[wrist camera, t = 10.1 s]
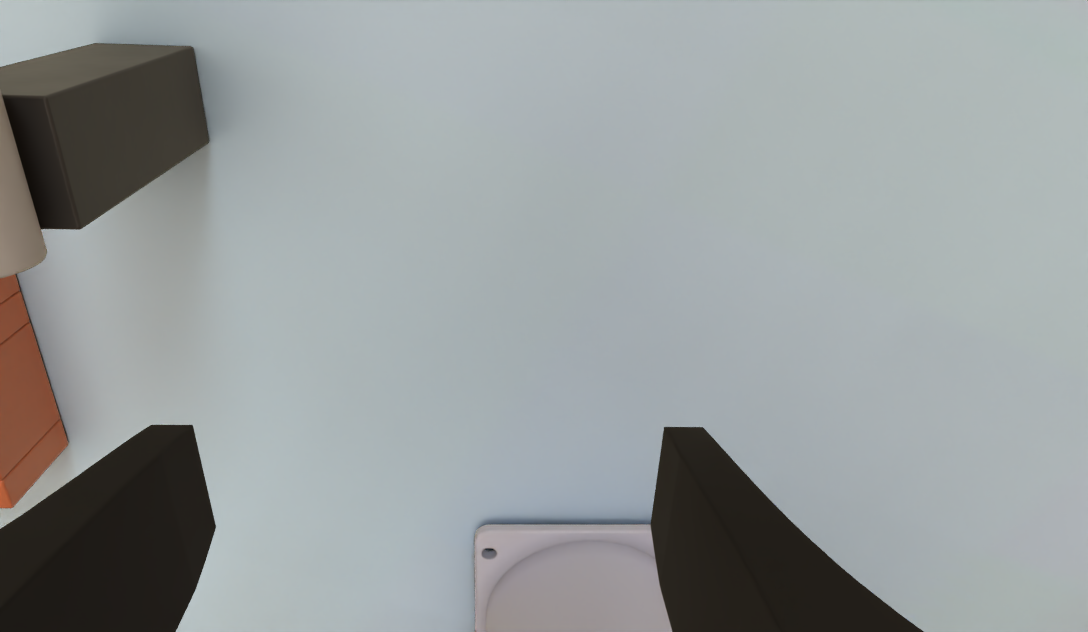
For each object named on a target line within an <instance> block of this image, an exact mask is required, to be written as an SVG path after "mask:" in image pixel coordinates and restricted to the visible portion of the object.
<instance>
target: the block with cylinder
mask: <svg viewBox="0 0 1088 632" xmlns="http://www.w3.org/2000/svg"><path fill="white" fill-rule="evenodd" d="M208 143H209V138H208V132H207V126H206V120H205V114H204V108H203V103H202V97H201V91H200V85H199V79H198V73H197V67H196V61H195V55H194V50H193V47H191V46H165V45H134V44H104V43H94V44H90V45H86V46H82V47H78V48H74V49H70V50H66V51H62V52H58V53H54V54H50V55H46V56H42V57H38V58H34V59H30V60H26V61H22V62H18V63H14V64H10V65H6V66H2V67H0V278H4V277H8V276H11V275H15V274H18V273H20V272H23V271H26V270H28V269H30V268H32V267H34V266H36V265H38V264H39V263H40V262H42V261H43V260H44V259H45V257H46V254H47V249H46V246H45V243H44V239H43V236H42V232H41V229H82V228H83V227H85V226H86V225H88V224H89V223H91V222H92V221H94V220H95V219H97V218H98V217H100V216H101V215H103V214H104V213H105V212H107V211H108V210H110V209H111V208H113V207H114V206H116V205H117V204H119V203H120V202H122V201H123V200H125V199H126V198H128V197H129V196H131V195H132V194H134V193H135V192H137V191H138V190H140V189H141V188H143V187H144V186H146V185H147V184H148V183H150V182H151V181H153V180H154V179H156V178H157V177H159V176H160V175H162V174H163V173H165V172H166V171H168V170H169V169H171V168H172V167H174V166H175V165H177V164H178V163H180V162H181V161H183V160H184V159H186V158H187V157H189V156H190V155H192V154H193V153H194V152H196V151H197V150H199V149H200V148H202V147H203V146H205V145H206V144H208Z"/></svg>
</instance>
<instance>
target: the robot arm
mask: <svg viewBox="0 0 1088 632" xmlns="http://www.w3.org/2000/svg"><path fill="white" fill-rule="evenodd" d="M215 528H216V525H215V521H214V517H213V512H212V508H211V503H210V499H209V495H208V490H207V486H206V481H205V477H204V473H203V468H202V464H201V460H200V455H199V451H198V446H197V442H196V438H195V433H194V429H193V425H151V426H149V427H147V428H146V429H144V430H143V431H141V432H139V433H138V434H136V435H135V436H133V437H132V438H130V439H129V440H128V441H126V442H125V443H123V444H122V445H120V446H119V447H118V448H116V449H115V450H113V451H112V452H110V453H109V454H108V455H106V456H105V457H103V458H102V459H101V460H99V461H98V462H96V463H95V464H94V465H92V466H91V467H89V468H88V469H87V470H85V471H84V472H82V473H81V474H80V475H78V476H77V477H75V478H74V479H73V480H71V481H70V482H68V483H67V484H65V485H64V486H63V487H61V488H60V489H58V490H57V491H56V492H54V493H53V494H51V495H50V496H48V497H47V498H46V499H44V500H43V501H41V502H40V503H38V504H37V505H36V506H34V507H33V508H31V509H30V510H28V511H27V512H26V513H24V514H23V515H21V516H20V517H18V518H17V519H15V520H13V521H12V522H10V523H9V524H7V525H6V526H4V527H3V528H1V529H0V632H176V630H177V628H178V625H179V623H180V621H181V619H182V617H183V615H184V613H185V611H186V609H187V607H188V604H189V602H190V600H191V598H192V596H193V594H194V592H195V589H196V587H197V584H198V581H199V578H200V575H201V572H202V569H203V566H204V563H205V560H206V557H207V554H208V551H209V548H210V544H211V541H212V538H213V535H214V532H215ZM486 548H492V549H494V550H492V551H487V550H485V549H486ZM475 632H923V631H922V630H921V629H919V628H918V627H916V626H915V625H914V624H912V623H911V622H910V621H908V620H907V619H905V618H904V617H903V616H901V615H900V614H899V613H897V612H896V611H895V610H894V609H892V608H891V607H890V606H888V605H887V604H886V603H885V602H883V601H882V600H881V599H880V598H878V597H877V596H876V595H874V594H873V593H872V592H871V591H869V590H868V589H867V588H866V587H864V586H863V585H862V584H860V583H859V582H858V581H857V580H856V579H854V578H853V577H852V576H851V575H850V574H848V573H847V572H846V571H845V570H844V569H842V568H841V567H840V566H839V565H838V564H837V563H836V562H834V561H833V560H832V559H831V558H830V557H829V556H828V555H827V554H826V553H825V552H823V551H822V550H821V549H820V548H819V547H818V546H817V545H816V544H815V543H813V542H812V541H811V540H810V539H809V538H808V537H807V536H806V535H805V534H804V533H803V532H802V531H801V530H800V529H798V528H797V527H796V526H795V525H794V524H793V523H792V522H791V521H790V520H789V519H788V518H787V517H786V516H785V515H784V514H783V513H782V512H781V511H780V510H779V509H778V508H777V507H776V506H775V505H774V504H773V503H772V502H771V501H770V500H769V499H768V498H767V496H766V495H765V494H764V493H763V492H762V491H761V490H760V489H759V488H758V487H757V486H756V485H755V484H754V483H753V482H752V481H751V479H750V478H749V477H748V476H747V475H746V474H745V473H744V472H743V471H742V470H741V469H740V468H739V466H738V465H737V464H736V463H735V462H734V461H733V460H732V459H731V458H730V456H729V455H728V454H727V453H726V452H725V451H724V450H723V449H722V448H721V447H720V445H719V444H718V443H717V442H716V441H715V440H714V439H713V438H712V437H711V436H710V435H709V433H708V432H707V431H706V430H705V429H704V428H703V427H664V433H663V440H662V447H661V454H660V461H659V468H658V476H657V483H656V490H655V497H654V504H653V511H652V519H651V524H489V525H483V526H481V527H479V528H478V530H477V531H476V533H475Z"/></svg>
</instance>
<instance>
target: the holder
mask: <svg viewBox="0 0 1088 632" xmlns="http://www.w3.org/2000/svg"><path fill="white" fill-rule="evenodd" d="M19 290H20V287H19V284H18V281H17V278H16V275H11V276H8V277H4V278H0V508H13V507H14V506H15V505H16V504H17V503H18V501H19V500H20V499H21V498H22V497H23V496H24V495H25V493H26V492H27V491H28V490H29V489H30V488H31V487H32V485H33V484H34V483H35V482H36V481H37V480H38V479H39V477H40V476H41V475H42V474H43V473H44V472H45V471H46V469H47V468H48V467H49V466H50V465H51V464H52V463H53V462H54V460H55V459H56V458H57V457H58V456H59V455H60V454H61V452H62V451H63V450H64V449H65V448H66V447H67V446H68V440H67V437H66V434H65V431H64V428H63V424H62V421H61V419H60V415H59V412H58V408H57V405H56V402H55V399H54V396H53V393H52V389H51V386H50V383H49V380H48V377H47V373H46V370H45V367H44V364H43V361H42V358H41V354H40V351H39V348H38V345H37V342H36V339H35V335H34V332H33V329H32V326H31V323H30V322H29V316H28V313H27V310H26V307H25V304H24V300H23V297H22V294H21V292H20V291H19Z"/></svg>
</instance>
